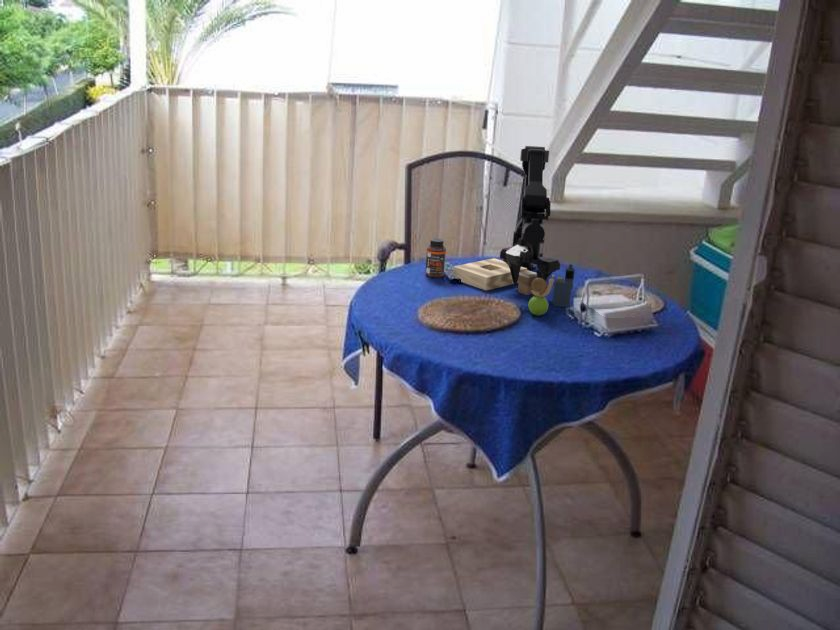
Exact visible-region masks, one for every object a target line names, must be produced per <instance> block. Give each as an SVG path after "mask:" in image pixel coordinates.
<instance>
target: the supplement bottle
mask: <svg viewBox="0 0 840 630" xmlns="http://www.w3.org/2000/svg"><path fill="white" fill-rule="evenodd" d="M425 254H426V258H425V259H426V260H425V270H424V271H425V275H426V276H427V277H430V278H443V277H444V276H445V269H446V257H447V256H446V254H447V248H446V247H445V246H444V239H442V238H431V239H430V243H429V245H428V246H427V247H426V253H425Z"/></svg>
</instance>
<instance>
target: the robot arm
mask: <svg viewBox="0 0 840 630" xmlns="http://www.w3.org/2000/svg"><path fill="white" fill-rule="evenodd" d="M549 157H550V150H546V147H545V146H534V145H533V146H532V145H525V146H524V148H521V149H520V157H519V158H520V162H521V167H522V169H523V172H524V174H525V180H524V192H523V195H522V196H521V202H520V220H518V222H517V223H516V224H515V230H513V233H512V239H511V246H509V247H506V248H505V247H504V248H502V249H501V251H500V253H499V259H500V260H502V261H503V262H505V263H506V264H507V265H508V266H509V268H510V272H511V275H512V279H513V283H514V284H513V285H516V284H518V283H517V281H518V278H519V272H520V269H521V267H524V268H527V270H528V271H530V270H534V269H536V270H535V273H537V278H542V279H544V280H545V281H546V282H547V281H548V280H549V279H550V276H552V275H553V273H555V272H557V271H559V270H561V269H560V268H561V262H560V261H559V260H558V259H556V258H552V257H545V258H543V257H544V256H543V254H544V253H542V252H541V247H542V244H544V243H545V239H544V238H545V236H546V233H545V228H544V221H547V220H549V217H550V216H551V203H552V202H551V200H550V198H549V197H548V195H547V194H548V193H547V192H548V189H547V188H546V187H545V186H544V185H543V183H544V181H543V179H544V178H543V177H544V175H543V174H544V170H545V169H546V163H549V160H550V158H549Z"/></svg>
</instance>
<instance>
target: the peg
mask: <svg viewBox="0 0 840 630" xmlns="http://www.w3.org/2000/svg"><path fill="white" fill-rule="evenodd" d="M536 278H538V274H537V272H536V271H532V270H527V271H522V272H519V283H517V284H518V285H517V286H518V287H517V293H519V294H523V295H525V296H529V295H533V293H532V292H531V290H533V288H532V282H533V280H534V279H536ZM533 291H534V290H533Z"/></svg>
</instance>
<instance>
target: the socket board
mask: <svg viewBox="0 0 840 630" xmlns="http://www.w3.org/2000/svg"><path fill="white" fill-rule="evenodd" d="M452 270H453V271H452V276H453V275H454V276H457V277H459V278H460V279H461V283H463V284H466V285H468V286H473V287H475V288H478V289H480V290H483V291H489V290H494V289H498V288H503V287H506V286H510V285H515V284H514V283H513V279H512V275H511V272H510V268H509V266H508V265H507V264H506V263H505V262H503V259H498V258H495V257H492V258H489V259H483V260H479V261H478V260H477V261H474V262H469V263H464V264H458V265H454V266H453V269H452ZM522 271H527V268H524V267H521V269H520V272H522ZM516 284H519V278H518V281H517V283H516Z"/></svg>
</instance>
